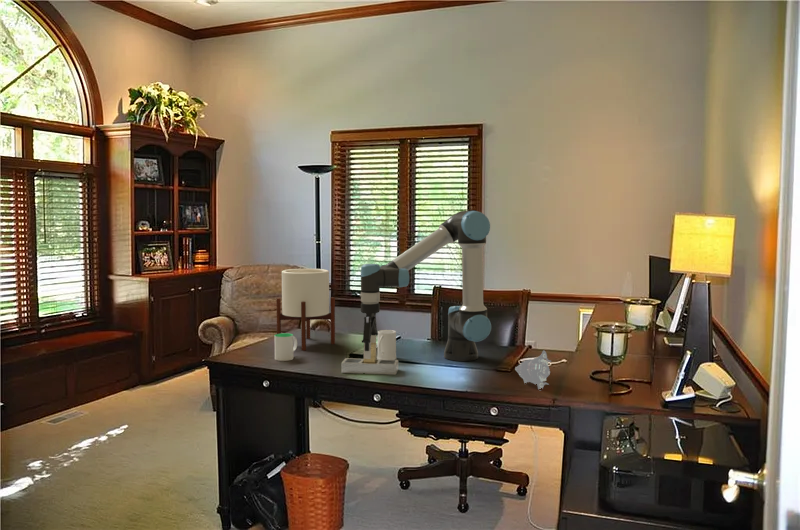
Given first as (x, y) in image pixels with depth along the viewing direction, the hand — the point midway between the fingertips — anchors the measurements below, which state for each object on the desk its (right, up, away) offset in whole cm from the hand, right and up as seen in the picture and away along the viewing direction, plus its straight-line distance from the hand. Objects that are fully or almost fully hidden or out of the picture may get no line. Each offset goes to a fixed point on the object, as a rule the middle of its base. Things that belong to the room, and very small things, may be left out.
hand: (370, 354), depth 253 cm
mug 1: (-38, -5, +23) cm, 44 cm away
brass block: (0, -6, 0) cm, 6 cm away
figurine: (+61, -9, -19) cm, 65 cm away
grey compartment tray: (0, -7, +1) cm, 7 cm away
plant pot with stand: (-33, -2, +51) cm, 61 cm away
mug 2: (+5, -5, +21) cm, 22 cm away
